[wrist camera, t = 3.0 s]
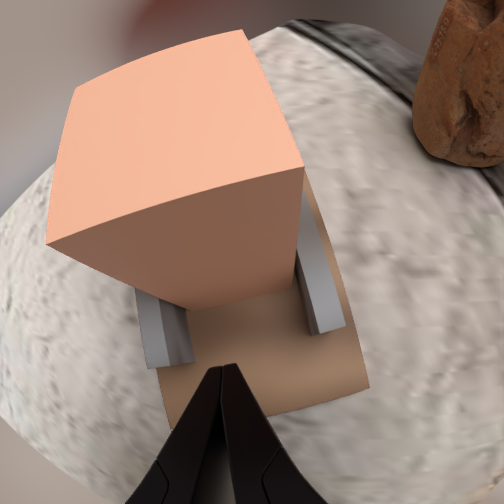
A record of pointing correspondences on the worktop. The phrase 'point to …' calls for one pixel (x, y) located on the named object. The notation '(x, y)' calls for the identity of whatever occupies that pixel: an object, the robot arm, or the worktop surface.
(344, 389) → the chute
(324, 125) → the worktop surface
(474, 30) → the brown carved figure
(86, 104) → the block
